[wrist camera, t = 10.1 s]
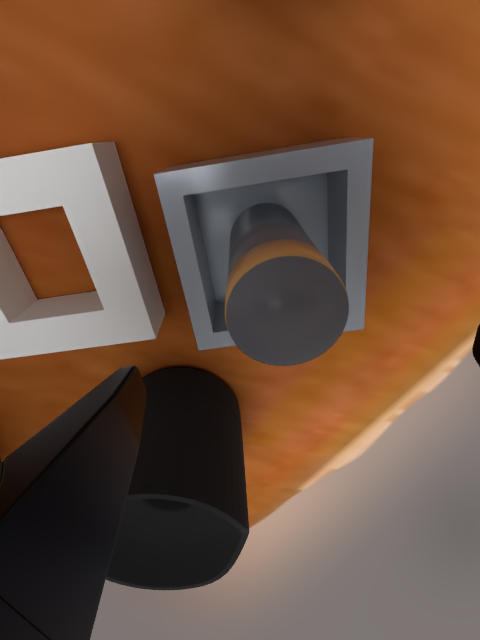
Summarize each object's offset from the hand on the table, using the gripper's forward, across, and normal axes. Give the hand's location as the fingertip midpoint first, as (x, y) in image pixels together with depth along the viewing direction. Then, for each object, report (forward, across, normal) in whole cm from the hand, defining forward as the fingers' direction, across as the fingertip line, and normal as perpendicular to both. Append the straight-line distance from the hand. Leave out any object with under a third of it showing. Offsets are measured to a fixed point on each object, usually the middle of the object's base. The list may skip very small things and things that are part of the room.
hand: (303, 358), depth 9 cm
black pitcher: (+12, +8, +12) cm, 19 cm away
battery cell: (+11, 0, 0) cm, 11 cm away
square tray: (+12, 0, 0) cm, 12 cm away
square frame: (+12, +12, -1) cm, 17 cm away
